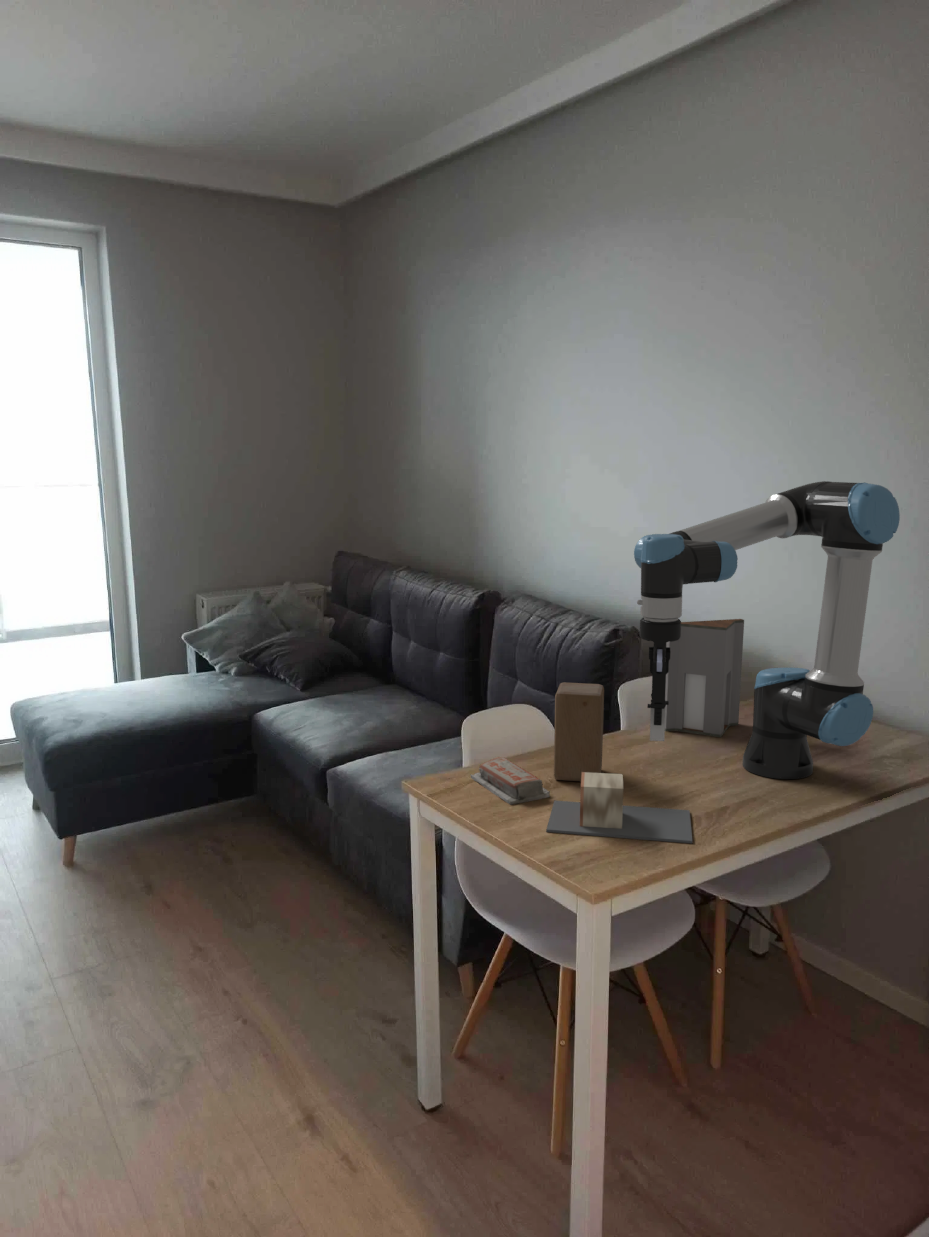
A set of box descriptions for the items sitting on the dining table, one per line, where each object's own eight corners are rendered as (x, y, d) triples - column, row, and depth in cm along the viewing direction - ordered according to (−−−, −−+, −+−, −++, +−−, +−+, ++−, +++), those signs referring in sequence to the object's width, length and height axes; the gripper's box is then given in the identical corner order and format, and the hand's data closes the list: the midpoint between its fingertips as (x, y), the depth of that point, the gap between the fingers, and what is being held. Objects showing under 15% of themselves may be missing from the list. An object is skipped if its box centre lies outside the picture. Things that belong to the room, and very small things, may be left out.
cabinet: (735, 723, 248) (740, 618, 243) (755, 734, 239) (762, 625, 234) (662, 729, 243) (667, 622, 237) (681, 741, 234) (686, 630, 228)
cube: (622, 774, 186) (581, 772, 187) (623, 788, 178) (580, 786, 179) (621, 812, 187) (580, 810, 188) (622, 828, 179) (579, 826, 181)
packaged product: (551, 777, 196) (510, 785, 191) (551, 799, 197) (509, 807, 192) (509, 751, 212) (469, 758, 207) (509, 772, 213) (469, 779, 208)
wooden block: (599, 784, 204) (601, 694, 200) (553, 781, 206) (554, 692, 202) (602, 768, 214) (604, 683, 210) (557, 765, 216) (559, 681, 212)
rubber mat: (689, 812, 188) (689, 810, 188) (692, 843, 174) (692, 840, 174) (554, 802, 194) (554, 800, 193) (546, 831, 179) (546, 829, 179)
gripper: (640, 611, 182) (637, 728, 187) (639, 624, 170) (636, 749, 174) (680, 612, 181) (676, 730, 185) (682, 625, 168) (677, 751, 173)
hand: (657, 739), depth 180 cm, fingers closed
